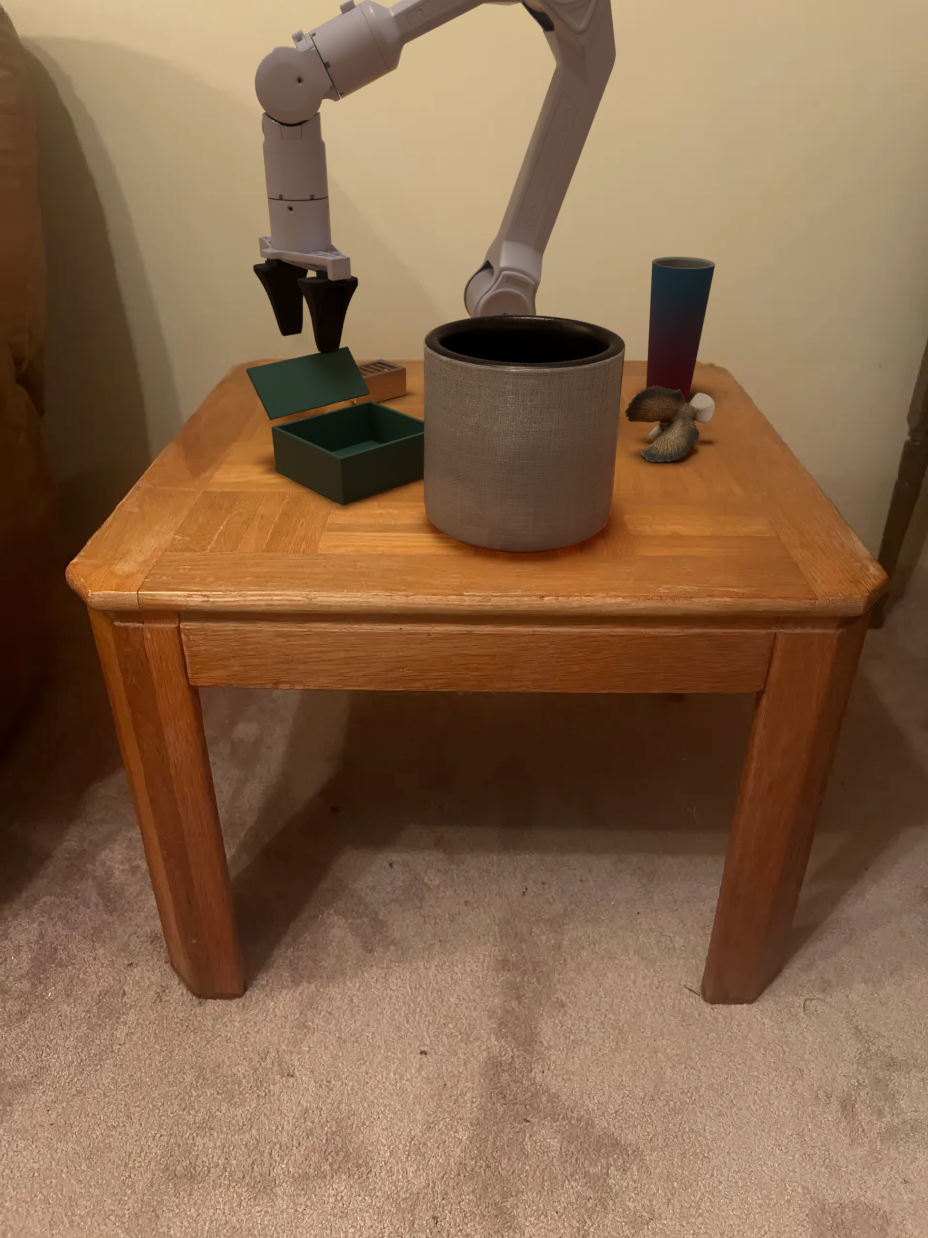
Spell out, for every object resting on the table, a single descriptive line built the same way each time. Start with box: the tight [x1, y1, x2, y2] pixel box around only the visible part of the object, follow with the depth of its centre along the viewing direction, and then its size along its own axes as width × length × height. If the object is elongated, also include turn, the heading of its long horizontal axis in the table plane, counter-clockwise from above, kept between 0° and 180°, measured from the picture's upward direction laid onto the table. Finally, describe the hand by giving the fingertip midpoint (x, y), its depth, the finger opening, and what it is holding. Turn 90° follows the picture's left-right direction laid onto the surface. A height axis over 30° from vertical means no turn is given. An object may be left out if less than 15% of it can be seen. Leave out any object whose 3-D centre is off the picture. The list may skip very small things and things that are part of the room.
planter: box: [423, 314, 626, 555], centre depth 78 cm, size 16×16×16 cm
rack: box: [355, 358, 408, 405], centre depth 110 cm, size 7×5×3 cm, turn 133°
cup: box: [645, 256, 716, 401], centre depth 108 cm, size 7×7×15 cm
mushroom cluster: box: [624, 386, 716, 463], centre depth 96 cm, size 8×7×9 cm
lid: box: [245, 346, 370, 421], centre depth 91 cm, size 5×12×1 cm
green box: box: [271, 401, 424, 506], centre depth 90 cm, size 11×12×4 cm
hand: (309, 342), depth 96 cm, fingers open, 7 cm apart
